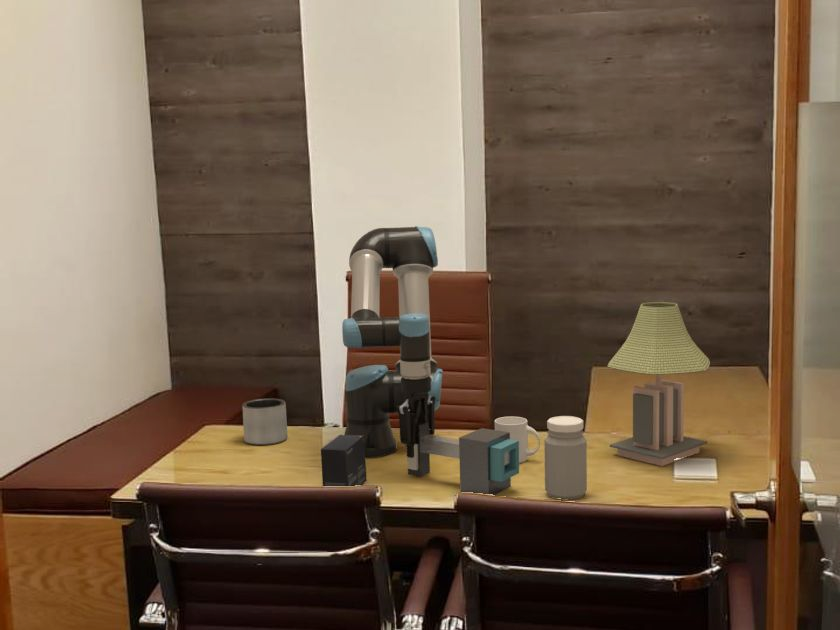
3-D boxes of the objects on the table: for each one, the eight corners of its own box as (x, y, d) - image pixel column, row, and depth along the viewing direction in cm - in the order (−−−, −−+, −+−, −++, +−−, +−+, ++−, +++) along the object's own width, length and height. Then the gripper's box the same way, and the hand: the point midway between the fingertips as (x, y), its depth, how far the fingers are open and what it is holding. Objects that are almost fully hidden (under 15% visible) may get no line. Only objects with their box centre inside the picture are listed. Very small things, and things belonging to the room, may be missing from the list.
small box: (341, 479, 259) (339, 433, 257) (367, 481, 257) (365, 435, 255) (322, 496, 246) (319, 448, 244) (348, 498, 244) (346, 449, 242)
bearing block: (460, 492, 246) (458, 437, 244) (483, 481, 254) (481, 428, 252) (488, 498, 241) (487, 442, 239) (510, 486, 249) (509, 432, 247)
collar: (490, 479, 241) (490, 446, 240) (508, 471, 247) (508, 438, 246) (501, 482, 239) (501, 448, 238) (519, 473, 246) (518, 440, 244)
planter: (245, 436, 303) (243, 399, 302) (288, 433, 305) (286, 396, 303) (242, 447, 291) (240, 409, 289) (287, 445, 292) (285, 406, 291)
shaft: (407, 474, 258) (406, 423, 257) (417, 470, 262) (415, 420, 260) (502, 492, 242) (501, 438, 240) (511, 488, 245) (510, 434, 243)
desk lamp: (675, 475, 254) (676, 315, 248) (585, 453, 275) (584, 305, 269) (732, 454, 270) (734, 303, 264) (643, 434, 291) (644, 295, 285)
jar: (544, 487, 247) (543, 415, 245) (585, 487, 246) (584, 414, 244) (545, 501, 238) (544, 425, 235) (588, 501, 237) (587, 425, 234)
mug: (536, 466, 265) (536, 426, 263) (491, 463, 268) (490, 423, 267) (543, 457, 273) (543, 417, 271) (499, 454, 277) (499, 415, 275)
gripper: (407, 384, 246) (410, 478, 250) (447, 371, 260) (449, 460, 263) (382, 381, 251) (386, 473, 254) (423, 368, 264) (426, 456, 268)
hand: (418, 466), depth 259 cm, fingers closed on shaft, 4 cm apart
